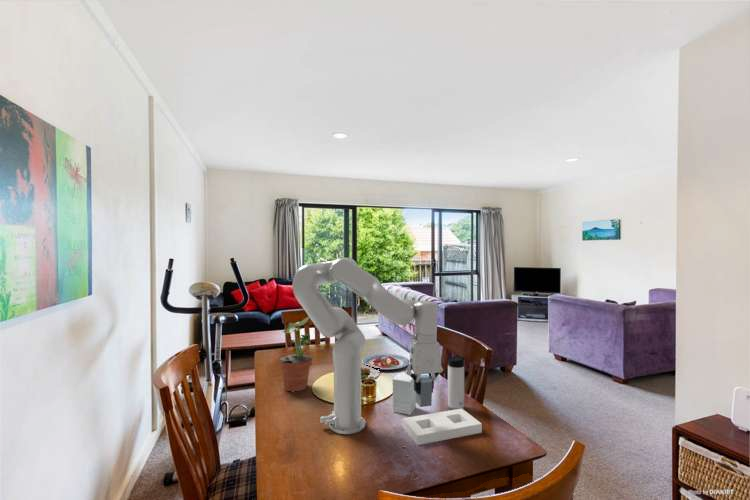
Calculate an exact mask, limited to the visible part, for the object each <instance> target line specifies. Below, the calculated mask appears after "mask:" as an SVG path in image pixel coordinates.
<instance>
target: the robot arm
mask: <svg viewBox="0 0 750 500" xmlns="http://www.w3.org/2000/svg"><path fill="white" fill-rule="evenodd" d="M334 283H339V284H341V285H342V286H344V287H345V288H347V289H349V290H350V291H351V292H353V293H354V294H356V295H357V296H358V297H360V298H361V299H363V300H364V301H365V302H366V303H367V304H368V305H370V307H371V308H373V309H374V310H375V311H376V312H378V314H380V315H382V316H383V317H384V318H386V319H388V320H389V321H391V322H392V323H394V324H396V325H398V326H406V325H408V324H410V323H411V322H412V321H414V331H413V332H414V333H413V334H412V335H410V339H411V340H413V341H412V342H411V347H410V351H409V359H408V360H409V364H408V365H407V366H406V367H407V368H406V369H405V370H404V374H407V375H409V376H411V377H412V378H413V379H414V390H415V392H416V393H417V394H420V389H421V383H420V382H419V381H420V375H428V376H429V377H431V378H432V394H433V393H434V388H435V381H436V378H437V377H438V376H439V374H441V373H442V372H443V371H444V368H443V366H442V355H441V348H440V343H439V341H437V338H438V337H437V335H438V334H437V332H438V311H439V310H438V304H437V303H436V302H435V301H429V300H420V301H419V300H414V299H409V298H401V299H399V298H398V297H397V296H395V295H394V294H392V293H391V292H390V291H389V290H387V289H386V288H385V287H384V286H383V285H382V283H381V282H380V280H379V279H378V278H377V277H376V276H374V275H373V274H372V273H369V272H367V270H365V269H363V268H362V267H360V266H359V264H358V262H356V260H355V259H354V258H350V257H340V258H337V259H335V260H330V261H324V262H318V263H316V262H315V263H308V264H304V265H302V266H301V267H299V268H298V269H297V270H296V272H295V273H294V276H293V279H292V284H291V285H292V292H293V295H294V296H295V297H294V298H295V299H296V300H297V302H298V303H299V304H300V306H301V307H302V308H303V310H304V311H305V313H306V314H307V315H308V316H309V317H310V318H309V319H310V320H311V322H312V323H313V325H314V326H315V328H317V330H318V332H319V333H320V334H321V335H322V337H325V338H328V339H329V338H334V337H335V339H336V341H335V343H334V344H333V347H332V353H331V354H332V355H331V358H332V364H333V410H332V411H331V413H330V414H329V415H321V416H320V417H319V419H320V423H324V424H325V426H326V425H327V426H329V429H330V430H331V431H332V432H334V433H336V434H339V435H352V434H357V433H359V432H361V431H362V430H363V429H365V427H366V419H365V418H364V417H363V416H362V368H361V367H362V366H361V354H362V353H363V352H364V350H365V348H366V343H367V341H366V338H365V335H364V333H363V332H362V330H361V328H359V326H358V325H357V324H356V322H355V321H354V319H353V318H352V316H350V314H349V313H348V312H347V311H346V310H345V309H343V308H342V307H337V306H334V307H333V306H332V305H331V303H330V302H329V301H328V299H327V298H326V296H325V295H324V294H323V293H322V292H321V291H320V290H319V288H318V287H319V286H323V285H328V284H334ZM308 316H307V317H308Z"/></svg>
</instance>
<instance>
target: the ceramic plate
mask: <svg viewBox="0 0 750 500" xmlns="http://www.w3.org/2000/svg"><path fill="white" fill-rule="evenodd" d="M409 360H410V359H409V358H407V357H405V356H402V355H399V354H393V353H378V354H377V353H376V354H372V355H371V354H370V355H368V356H366V357H364V358H362V360H361V362H362V364H363V363H365V364H372V365H375V366H378V367H379V368H380V369H379V370H383V371H384V370H385V371H386V370H396V369H402V368H406V367H408V366H409Z"/></svg>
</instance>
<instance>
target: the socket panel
mask: <svg viewBox="0 0 750 500" xmlns="http://www.w3.org/2000/svg"><path fill="white" fill-rule="evenodd" d="M401 426H402V428H403V430H404V431H405V432H406V433H407V435H408V436H409V437H410V438H411V440H412V441H413V442H414V443H415V444H416V445H417V446H420V445H425V444H426V445H427V444H432V443H436V442H439V441H440V442H441V441H445V440H446V441H447V440H451V439H455V438H462V437H466V436H471V435H472V436H473V435H477V434H482V433H483V432H482V431H483V425H482V423H481V422H480V421H479V420H478V419H476V418H475V417H474V416H472V415H471V414H470V413H469V412H467V411H466V410H465V409H456V410H451V409H449V410H444V411H438V412H431V413H425V414H421V415H414V416H408V417H403V418H402V425H401Z"/></svg>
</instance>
